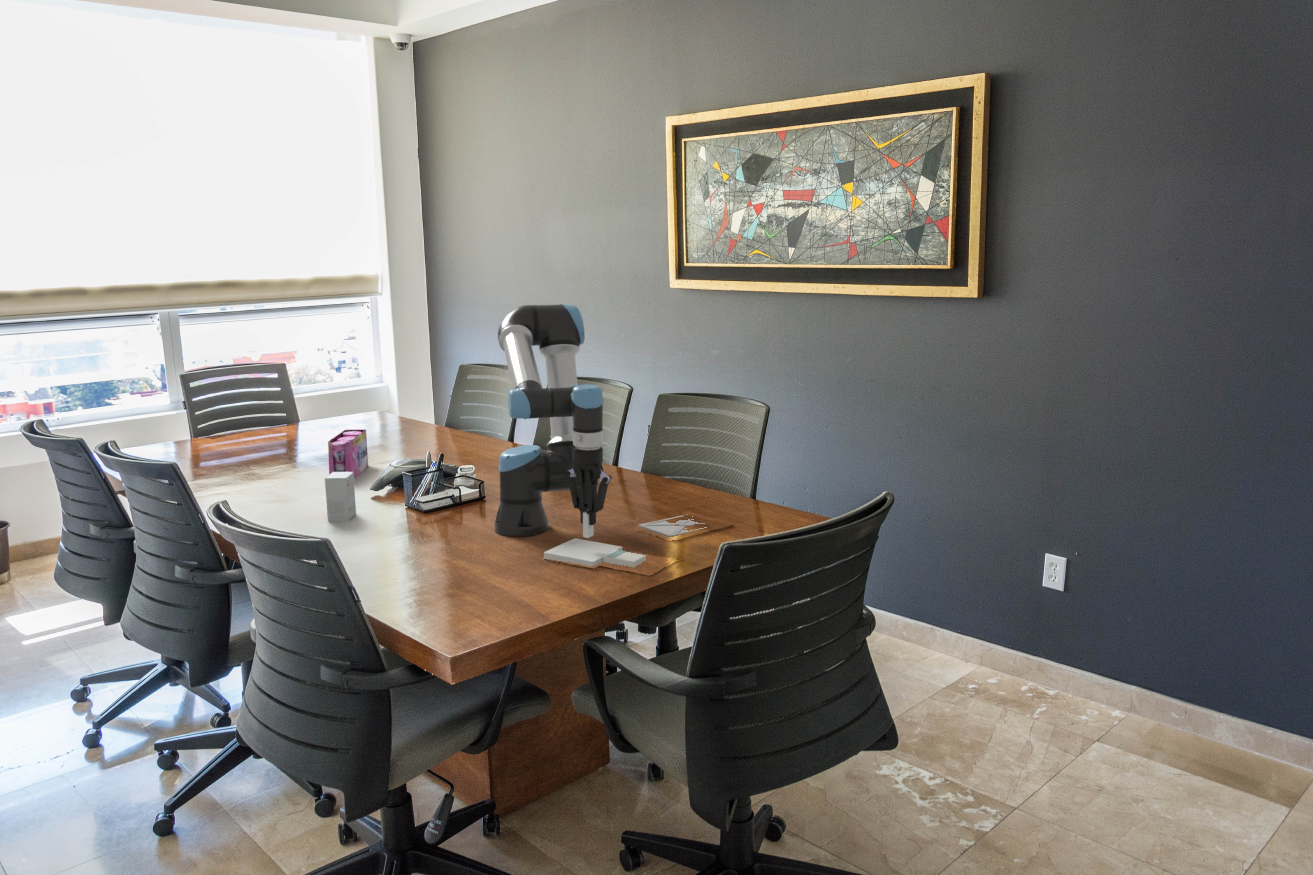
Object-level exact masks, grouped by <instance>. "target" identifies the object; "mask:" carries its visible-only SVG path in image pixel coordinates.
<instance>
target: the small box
mask: <svg viewBox="0 0 1313 875" xmlns="http://www.w3.org/2000/svg"><path fill="white" fill-rule="evenodd" d="M324 485H325V486H324V487H325V497H326V498H325V499H326V500H325V501H326V511H327V512H326V515H327V521H328V522H349V521H351V520H352V518H353V517H355V515H356V514H357V507H356V506H357V505H356V504H357V503H356V492H355V491H356V490H355V478H354V472H332V473H331V474H330V475H329V474H328V475H327V476H326V477H325V478H324Z"/></svg>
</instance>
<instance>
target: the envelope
mask: <svg viewBox="0 0 1313 875" xmlns="http://www.w3.org/2000/svg"><path fill="white" fill-rule="evenodd" d="M688 514H689V513H687V514H686V515H688ZM684 515H685V514H682V515H678V516H674V517H669V518H663V519H659V520H655V521H650V522H645V523H640V524H637V528H638V527H640V528H643V529H646V530H649V531H652V532H655V533H658V534H661V535H664V536H667V537H674V536H678V535H681V534H685V533H689V532H692V531H696V530H699V529H704V528H707V527H704V528H699V529H695V530H690V531H688V530H683V529H687V528H685V527H686V526H687V527H688V526H693V525H695V524H705V523H698V522H694V521H691V520H694V519H691V520H690V519H688V520H679V521H677V522H676V523H669V522H667V521H666V520H670V519H674V518H679V517H683V516H684ZM692 517H693V516H692ZM674 525H679V526H674Z"/></svg>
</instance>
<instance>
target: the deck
mask: <svg viewBox="0 0 1313 875" xmlns="http://www.w3.org/2000/svg"><path fill="white" fill-rule="evenodd" d="M623 548H624V547H623V546H621V545H614V544H609V543H605V542H604V543H603V542H597V541H592V540H587V539H581V538H576V537H574V538H573V539H570V540H568V541H565V542H562V543H561V544H559V545H557V546H554V547H552V548H550V549H547V550H546V551H544V552H543V560H544V559H551V560H557V561H562V562H570V563H575V564H581V565H586V566H595V565H597V564H599V563H601V562H603V556H604V555H606V554H608V553H610V552H612V551H614V550H622V551H624V550H623Z"/></svg>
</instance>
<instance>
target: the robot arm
mask: <svg viewBox="0 0 1313 875" xmlns="http://www.w3.org/2000/svg"><path fill="white" fill-rule="evenodd" d="M585 339H586V334H585V324H584V319H583V316H582V313H581V311H580V309H579V308H578V307H577V306H576V305H573V304H562V303H561V304H535V305H534V304H533V305H532V304H524V305H520V306H517V307H515V308H513V309H512V310H511V311H510V312H508V313H507V314H506V315H505V317H504V318H503V319H502V320H501V322H500V324H499V326H498V330H497V340H498V344H499V347H500V349H501V350H502V351H504V355H505V359H506V360H505V361H506V364H507V368H508V373H509V376H510V383H511V385H512V386H511V387H512V389H510V390H509V391H508V393H507V408H508V413H509V414H508V415H509V416H510V418H511V419H523V420H528V419H529V420H531V419H543V418H545V419H546V418H549V422H550V423H549V424H550V436H551V437H550V440H549V441H548V442H547V444H546V450H542V448H541V447H540V445H535V444H534V445H533V444H532V445H528V444H527V445H520V446H519V445H518V446H515V447H514V446H513V447H511V448H508V449H506V450H504V451H503V452H501V453H500V455H499V459H498V460H499V464H498V472H499V496H500V498H499V506H498V510H497V513H496V516H495V520H494V531H495V532H496V533H498V534H500V535H501V536H508V537H529V536H536V535H540V534H542V533H545V532H547V531H548V530H549V527H550V526H549V518H548V516H547V514H546V510H545V507H544V503H543V497H542V493H547V492H548V493H549V492H563V491H570V492H569V493H570V496H571V501H572V505H573V508H574V509H578V510H579V512H580V524H582V537H583V538H584V539H586V538H587V539H589V538H591V537H593V536H594V534H595V532H594V531H595V530H594V527H595V526H594V525H596V523H597V513H598V512H600V511H602V510H603V509H604V505H605V500H606V497H607V491H608V487H609V484H610V483H611V481H612V478H613V476H611V475H610V474H609V475H607V474H606V473H605V471H604V467H603V461H604V458H603V457H604V449H603V447H602V446H603V445H604V432H603V431H604V429H603V428H604V426H603V421H604V419H603V416H604V414H603V413H604V410H603V408H604V406H603V405H604V397H603V396H604V395H603V388H602V387H601V386H599V385H596V384H589V383H588V384H578V375H577V365H576V363H577V362H576V355H577V354H578V353H579V351H580V349H581V347H580V346H582V345H583V344H584V342H585ZM533 346H534V347H535V346H539V348H538V349H539V353H540V354H541V355H542V356H544V357H545V369H546V380H547V382H546V383H547V387H545V388H543V385H542V384H543V383H542V382H541V378H540V373H539V369H538V366H537V362H536V359H535V354H534V351H533Z"/></svg>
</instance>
